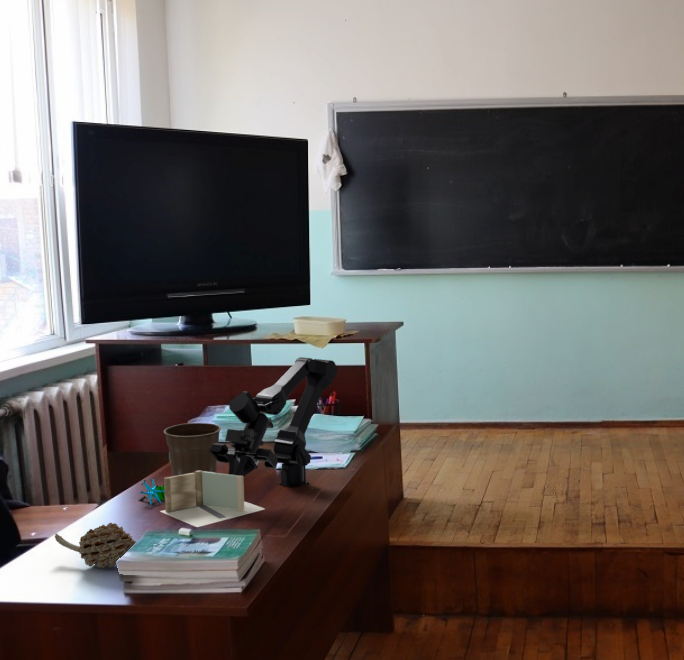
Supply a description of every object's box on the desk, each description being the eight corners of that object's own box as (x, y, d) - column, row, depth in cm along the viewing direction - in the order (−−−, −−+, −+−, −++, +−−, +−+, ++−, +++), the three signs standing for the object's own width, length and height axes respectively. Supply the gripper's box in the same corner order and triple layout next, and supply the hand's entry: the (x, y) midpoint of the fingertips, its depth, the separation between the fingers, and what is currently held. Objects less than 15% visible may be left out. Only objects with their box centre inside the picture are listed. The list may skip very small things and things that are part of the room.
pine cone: (147, 562, 217) (145, 519, 216) (124, 578, 208) (122, 533, 207) (63, 553, 224) (61, 511, 223) (37, 567, 215) (35, 524, 214)
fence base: (201, 503, 259) (200, 470, 258) (205, 505, 257) (203, 471, 256) (164, 510, 253) (163, 476, 252) (167, 512, 251) (166, 478, 250)
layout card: (226, 496, 267) (226, 494, 267) (265, 510, 253) (265, 508, 253) (159, 512, 253) (159, 511, 253) (197, 528, 239) (197, 527, 239)
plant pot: (207, 493, 269) (204, 436, 267) (155, 489, 275) (153, 433, 273) (232, 478, 285) (230, 424, 283) (183, 474, 290) (180, 421, 288)
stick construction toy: (149, 501, 256) (141, 476, 259) (132, 513, 258) (124, 488, 261) (179, 502, 265) (171, 478, 268) (162, 514, 268) (155, 489, 271)
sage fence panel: (202, 505, 256) (201, 472, 255) (205, 504, 257) (204, 471, 256) (241, 510, 251) (240, 477, 250) (244, 509, 252) (243, 475, 251)
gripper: (211, 413, 260) (188, 463, 252) (270, 419, 251) (248, 471, 243) (229, 436, 268) (207, 485, 259) (287, 442, 259) (266, 493, 250)
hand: (231, 483), depth 253 cm, fingers closed, pressing on sage fence panel
